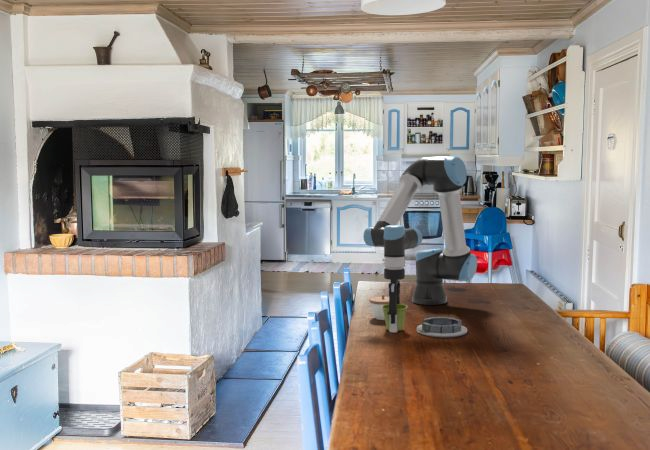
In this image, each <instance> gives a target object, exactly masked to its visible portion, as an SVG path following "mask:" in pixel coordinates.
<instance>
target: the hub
mask: <svg viewBox="0 0 650 450" xmlns="http://www.w3.org/2000/svg"><path fill="white" fill-rule="evenodd" d="M416 332H417V333H418V334H420V335H423V336H425V337H433V338H456V337H462V336H464V335H467V333H468V327H466V326H464V325H462V320H461V319H458V318H454V317H447V316H433V317H427V318H423V319H422V322H421V324H419V325H417V327H416Z"/></svg>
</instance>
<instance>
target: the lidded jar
mask: <svg viewBox="0 0 650 450" xmlns="http://www.w3.org/2000/svg"><path fill="white" fill-rule="evenodd" d="M368 302H369V308H370V313H371V314H372V316H373V317H374V318H375V319H376V320H377V321H378V320H380V321H385V316H384V312H383V308H382V306H383V305H386V304H389V296H385V294H381V296H373V297H370V298H369V300H368Z"/></svg>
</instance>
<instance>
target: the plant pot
mask: <svg viewBox="0 0 650 450" xmlns="http://www.w3.org/2000/svg"><path fill="white" fill-rule="evenodd" d="M382 308H383V312H384V316H385V320H384V321H385V327H386V330H387V331H389V315H388V314H387V312H389V304H386V305H383V306H382ZM408 308H409V307H408V305H407V304H402V303H400V304H397V332H399V331H403V330H404V327H405V318H406V312H407V309H408ZM391 311H394V310H391Z"/></svg>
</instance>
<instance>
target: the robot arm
mask: <svg viewBox="0 0 650 450" xmlns="http://www.w3.org/2000/svg"><path fill="white" fill-rule="evenodd" d="M467 176H468V173H467V167H466V163H465V162H464V160H463V159H462V158H461V157H458V156H451V155H445V156H444V155H443V156H442V155H441V156H424V157H420V158H418V159H417V160H415V161H413V163H412V162H411V164H410V165H409V166H408V167H407V168H406V169H405V170H404V171H403V173H401V176H400V178H399V184H398V185H397V187H396V189H395V191H394V193H393V194H392V196H391V198H390V199H389V201H388V203H387V204H386V206H385V208H384V209H383V211H382V213H381V215H380V216H379V218H378V220H377V221H376V223H375V225H374V226H368V227H366V228H365V229H364V231H363V242H364V243H365V245H366V246H369V247H373V248H383V258H382V260H381V261H382V262H383V263H384V264H383V266H384V268H383V274H384V275H383V277H384V279H385V280H389V281H390V282H389V283H388V297H389V312H387V314H388V315H389V330H388V331H389V333H398V331H397V304H401V303H400V302H401V298H400V293H401V282H400V281H401V280H403V279H405V276H406V270H405V269H406V268H405V266H406V255H405V251H406V250H410V249H416V248H418V247H419V246H420V245H421V244H422V243H423V235H422V232H421V231H420V230H419V229H418V228H415V227H408V228H405V226H404V225H399V222H400V221H401V220H402V218H403V216H404V214H405V212H406V211H407V210H408V209H407V208H408V207H409V206H410V204H411V202H412V200H413V198H414V196H415V195H416V193H417V192H420V191H421V189H422V188H423V187H425V186H433V191H434V192H435V193H436V194H437V195H438V203H439V209H440V216H441V217H440V218H441V223H442V224H441V225H442V232H443V240H444V249H443V248H429V249H423V250H419V251H417V252H416V254H415V287H414V291H413V294H412V296H411V302H412V303H413V304H418V305H424V306H425V305H426V306H434V305H444V304H447V302H448V296H447V294H446V291H445V290H446V289H445V286H444V281H447V280H448V281H455V282H456V281H457V282H469V281H471V280H473V279H474V277H475V275H476V272H477V268H478V259H477V255H475V254H474V253H471V248H470V247H469V246H468V245H467V242H466V234H465V233H466V232H465V227H464V219H463V218H464V216H463V211H462V202H461V194H460V192H461V190H462V189H463V187H464V186H463V185H465V184H466V182H467ZM391 310H394V311H391Z"/></svg>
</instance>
